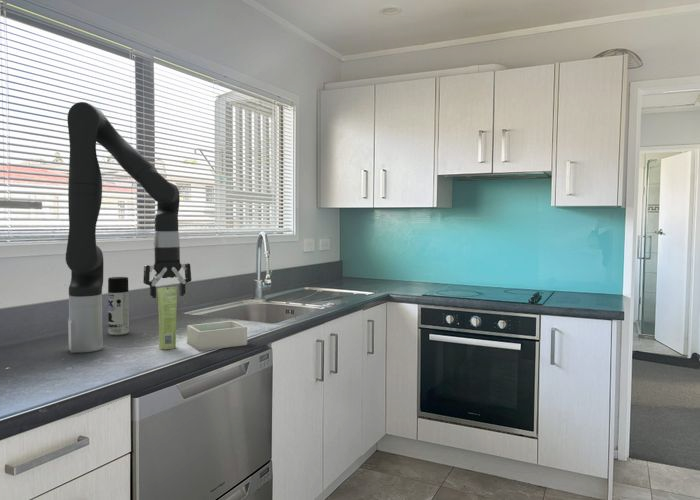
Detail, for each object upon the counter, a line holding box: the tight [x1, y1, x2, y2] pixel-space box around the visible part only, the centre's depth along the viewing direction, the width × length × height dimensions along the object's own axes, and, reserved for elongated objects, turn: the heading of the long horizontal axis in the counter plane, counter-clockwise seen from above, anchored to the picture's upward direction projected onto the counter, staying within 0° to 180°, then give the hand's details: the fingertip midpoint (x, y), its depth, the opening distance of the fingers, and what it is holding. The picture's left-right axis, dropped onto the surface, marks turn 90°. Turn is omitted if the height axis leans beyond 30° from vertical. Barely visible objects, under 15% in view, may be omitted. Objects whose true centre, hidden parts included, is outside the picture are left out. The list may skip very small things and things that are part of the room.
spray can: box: [107, 276, 130, 336], centre depth 188 cm, size 7×7×20 cm
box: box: [186, 320, 248, 352], centre depth 174 cm, size 16×12×6 cm
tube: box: [156, 285, 178, 350], centre depth 168 cm, size 6×5×20 cm
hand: (168, 296), depth 168 cm, fingers open, 8 cm apart
